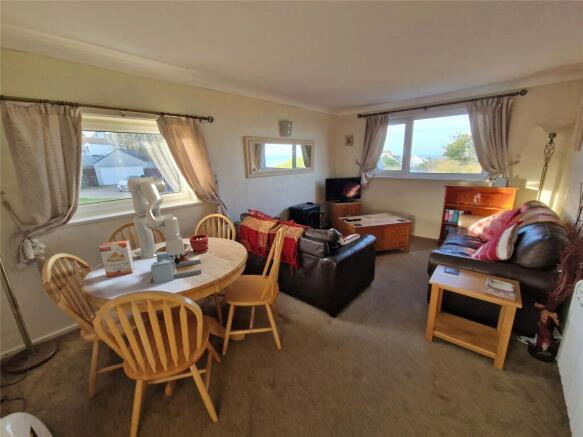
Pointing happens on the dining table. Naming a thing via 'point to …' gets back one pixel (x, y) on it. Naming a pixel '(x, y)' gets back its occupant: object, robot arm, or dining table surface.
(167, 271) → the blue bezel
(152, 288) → the dining table surface
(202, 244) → the plant pot
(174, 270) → the lumpy-topped squat cylinder
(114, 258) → the cracker box
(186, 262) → the grey long bars
